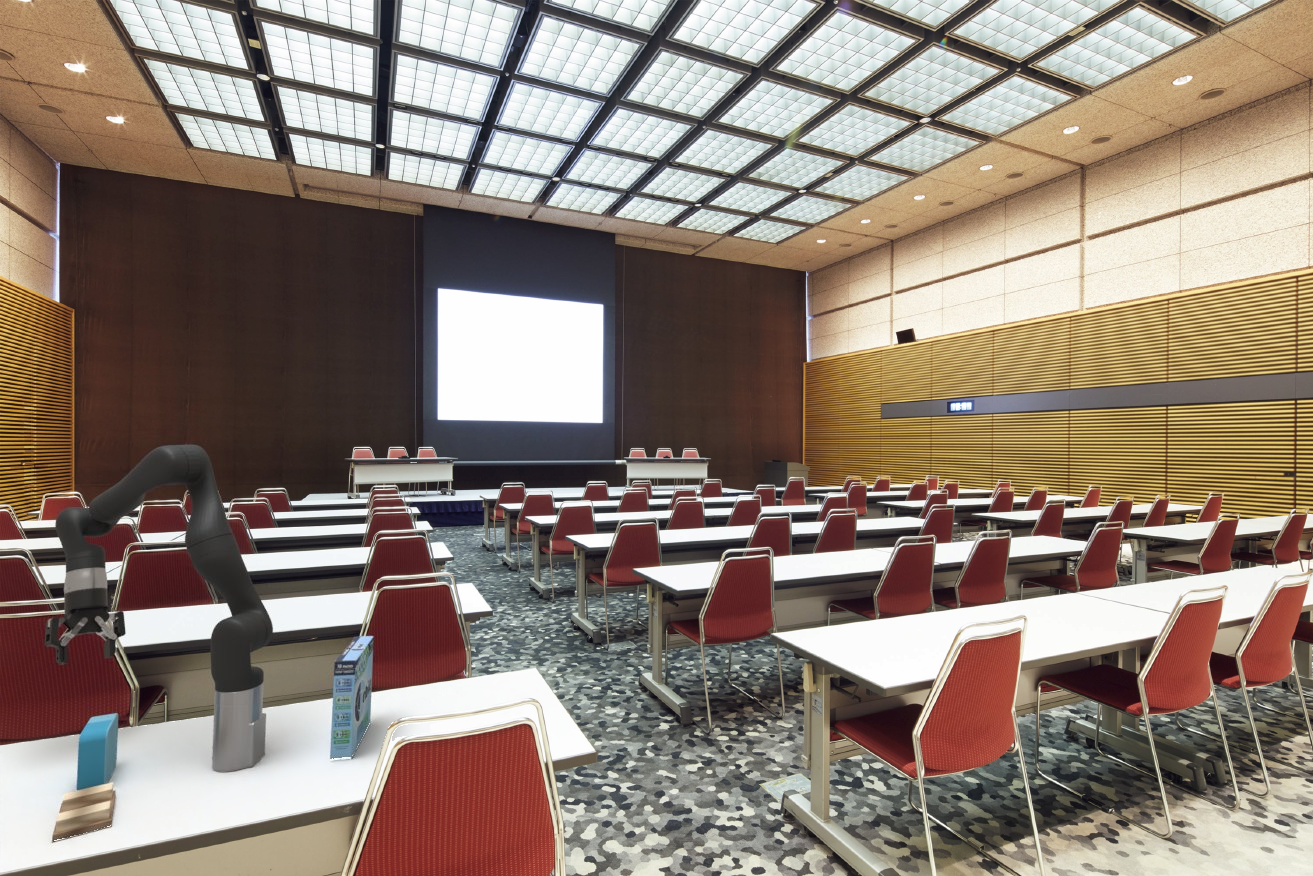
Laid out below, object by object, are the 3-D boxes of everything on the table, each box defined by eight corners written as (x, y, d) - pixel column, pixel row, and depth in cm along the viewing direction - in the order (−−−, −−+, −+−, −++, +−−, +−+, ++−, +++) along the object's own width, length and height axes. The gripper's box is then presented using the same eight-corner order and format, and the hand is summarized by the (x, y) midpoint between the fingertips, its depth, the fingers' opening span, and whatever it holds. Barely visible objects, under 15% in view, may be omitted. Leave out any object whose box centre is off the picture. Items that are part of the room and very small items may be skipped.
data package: (89, 770, 138) (92, 714, 138) (116, 765, 140) (118, 710, 140) (75, 796, 127) (78, 736, 128) (105, 790, 130) (107, 731, 130)
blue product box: (350, 725, 162) (353, 636, 163) (372, 724, 163) (374, 635, 164) (329, 762, 143) (332, 660, 144) (353, 760, 144) (356, 659, 145)
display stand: (115, 796, 128) (116, 780, 128) (111, 826, 117) (112, 809, 117) (61, 809, 123) (62, 792, 123) (52, 842, 112) (52, 824, 112)
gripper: (56, 589, 141) (56, 663, 137) (130, 584, 153) (132, 652, 149) (38, 596, 143) (37, 669, 139) (112, 591, 156) (113, 658, 152)
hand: (86, 660), depth 144 cm, fingers open, 8 cm apart
